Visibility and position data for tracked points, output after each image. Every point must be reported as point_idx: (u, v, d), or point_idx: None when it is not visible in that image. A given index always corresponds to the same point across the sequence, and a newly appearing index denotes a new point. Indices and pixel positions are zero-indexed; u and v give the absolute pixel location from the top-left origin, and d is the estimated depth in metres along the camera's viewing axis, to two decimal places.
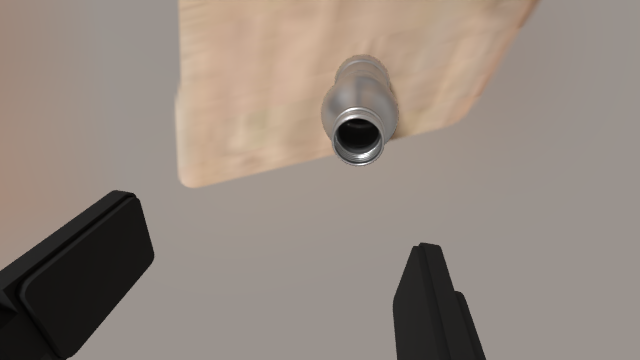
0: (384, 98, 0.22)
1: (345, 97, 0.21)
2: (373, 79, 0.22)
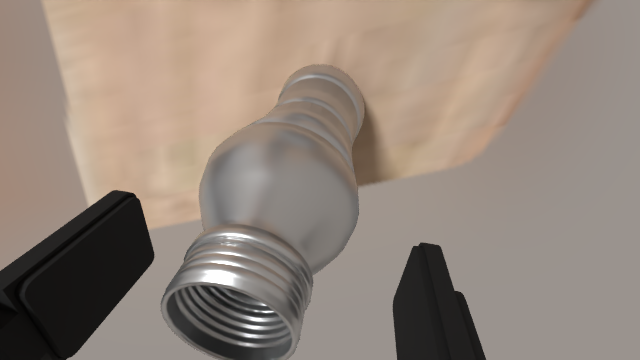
0: (318, 185, 0.09)
1: (224, 185, 0.09)
2: (297, 137, 0.10)
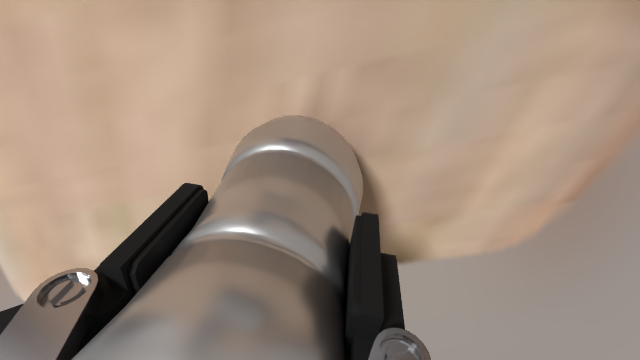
0: None
1: None
2: None
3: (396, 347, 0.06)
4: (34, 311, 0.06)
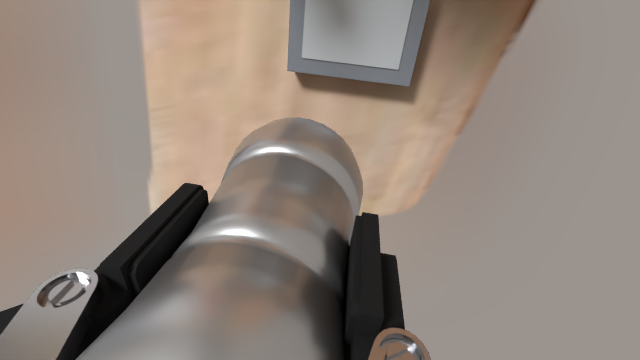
0: None
1: None
2: None
3: (396, 347, 0.06)
4: (34, 311, 0.06)
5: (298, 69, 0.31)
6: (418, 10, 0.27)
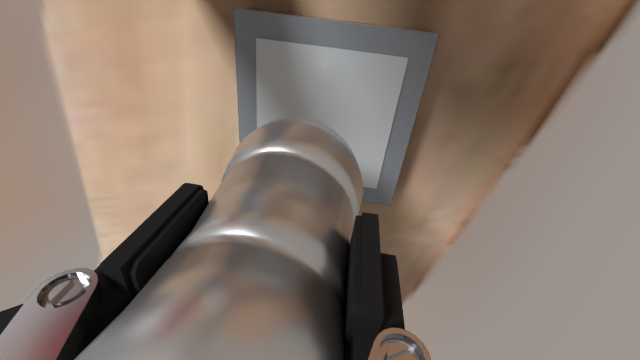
0: None
1: None
2: None
3: (396, 347, 0.06)
4: (34, 311, 0.06)
5: None
6: (400, 128, 0.21)
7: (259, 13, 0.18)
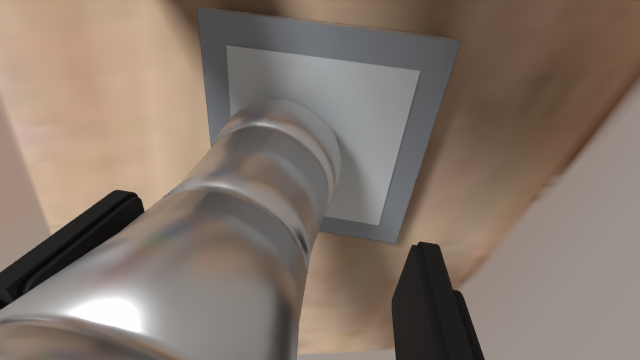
0: None
1: None
2: None
3: None
4: None
5: None
6: (408, 156, 0.17)
7: (229, 14, 0.14)
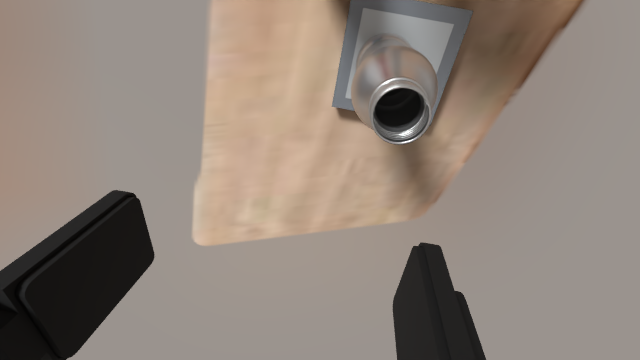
0: (427, 72, 0.19)
1: (384, 67, 0.19)
2: (415, 50, 0.20)
3: None
4: None
5: (341, 106, 0.38)
6: (443, 69, 0.34)
7: None
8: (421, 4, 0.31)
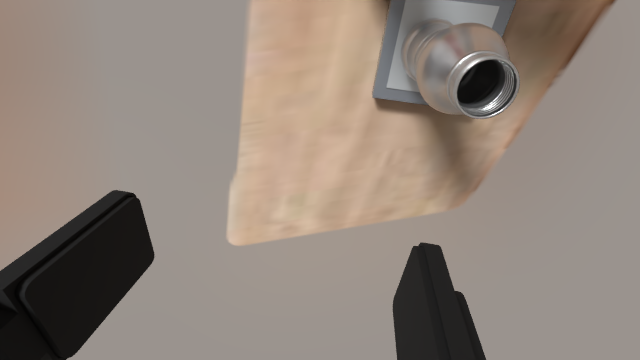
0: (502, 46, 0.19)
1: (459, 44, 0.19)
2: (487, 26, 0.20)
3: None
4: None
5: (382, 96, 0.38)
6: None
7: None
8: None
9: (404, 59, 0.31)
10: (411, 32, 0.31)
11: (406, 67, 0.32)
